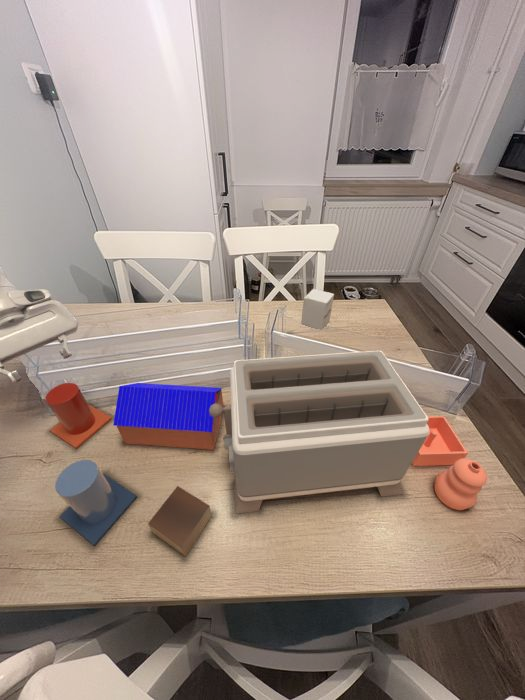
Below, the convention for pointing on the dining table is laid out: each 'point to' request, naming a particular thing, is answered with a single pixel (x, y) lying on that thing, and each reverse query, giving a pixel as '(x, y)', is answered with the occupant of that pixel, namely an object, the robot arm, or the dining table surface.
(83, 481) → the blue canister
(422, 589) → the dining table surface
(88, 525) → the blue mat
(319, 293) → the white packaging box
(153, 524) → the riser
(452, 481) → the pottery
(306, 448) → the toaster
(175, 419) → the house
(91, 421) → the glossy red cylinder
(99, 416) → the red mat
